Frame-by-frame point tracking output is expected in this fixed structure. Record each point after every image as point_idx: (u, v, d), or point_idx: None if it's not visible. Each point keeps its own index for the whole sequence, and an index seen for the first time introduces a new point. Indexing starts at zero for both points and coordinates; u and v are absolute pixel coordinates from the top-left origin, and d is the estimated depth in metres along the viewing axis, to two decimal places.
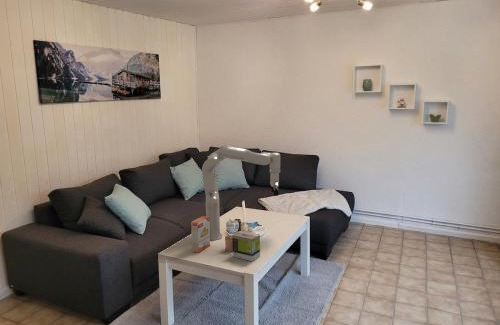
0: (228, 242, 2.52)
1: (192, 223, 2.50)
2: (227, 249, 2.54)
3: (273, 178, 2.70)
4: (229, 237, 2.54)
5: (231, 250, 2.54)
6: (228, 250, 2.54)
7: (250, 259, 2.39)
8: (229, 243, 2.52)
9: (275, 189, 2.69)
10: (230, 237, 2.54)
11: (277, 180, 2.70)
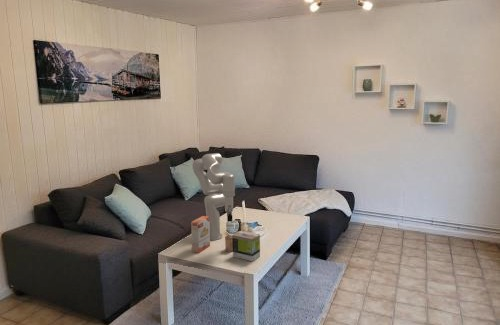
0: (228, 242, 2.52)
1: (192, 223, 2.50)
2: (227, 249, 2.54)
3: (226, 202, 2.45)
4: (229, 237, 2.54)
5: (231, 250, 2.54)
6: (228, 250, 2.54)
7: (250, 259, 2.39)
8: (229, 243, 2.52)
9: (228, 214, 2.45)
10: (230, 237, 2.54)
11: (231, 204, 2.45)
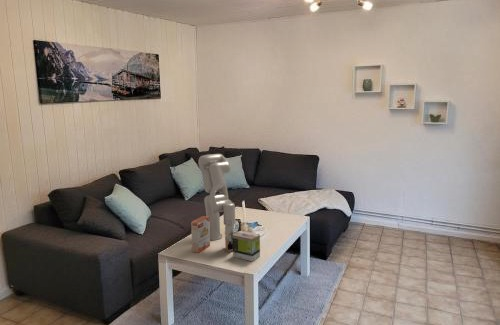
0: None
1: (192, 223, 2.50)
2: (227, 249, 2.54)
3: (227, 231, 2.49)
4: None
5: (231, 250, 2.54)
6: (228, 250, 2.54)
7: (250, 259, 2.39)
8: None
9: (229, 243, 2.50)
10: None
11: (231, 233, 2.49)
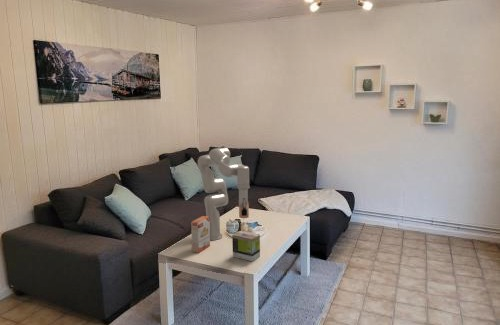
0: None
1: (192, 223, 2.50)
2: (241, 215, 2.40)
3: (241, 195, 2.35)
4: None
5: (245, 216, 2.40)
6: (242, 216, 2.40)
7: (250, 259, 2.39)
8: None
9: (243, 208, 2.36)
10: None
11: (245, 197, 2.36)
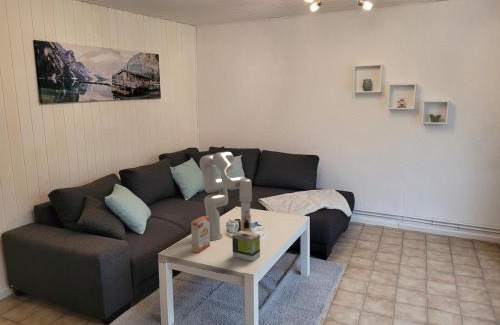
0: None
1: (192, 223, 2.50)
2: (243, 228, 2.40)
3: (243, 208, 2.36)
4: None
5: (247, 229, 2.40)
6: (244, 229, 2.40)
7: (250, 259, 2.39)
8: None
9: (245, 221, 2.37)
10: None
11: (248, 210, 2.36)
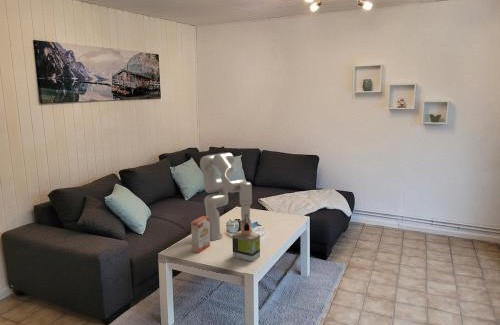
0: None
1: (192, 223, 2.50)
2: (243, 233, 2.41)
3: (243, 211, 2.36)
4: (245, 221, 2.42)
5: (247, 234, 2.41)
6: (244, 234, 2.41)
7: (250, 259, 2.39)
8: None
9: (245, 224, 2.36)
10: None
11: (248, 213, 2.36)
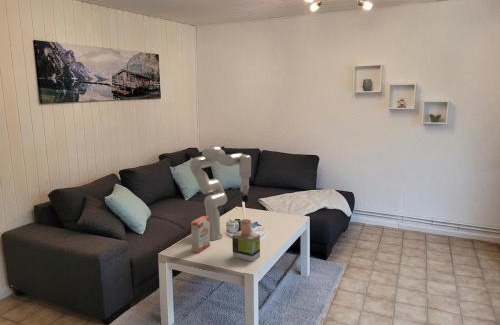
0: (244, 226, 2.40)
1: (192, 223, 2.50)
2: (243, 233, 2.41)
3: (242, 183, 2.46)
4: (245, 221, 2.42)
5: (247, 234, 2.41)
6: (244, 234, 2.41)
7: (250, 259, 2.39)
8: (245, 227, 2.40)
9: (244, 195, 2.46)
10: (246, 221, 2.42)
11: (246, 185, 2.46)
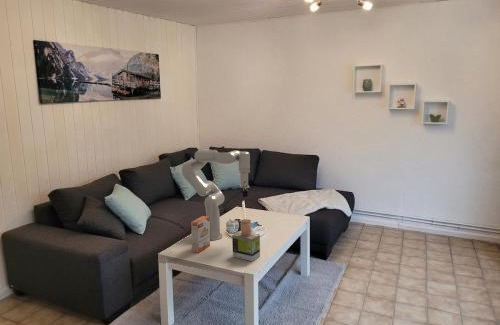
0: (244, 226, 2.40)
1: (192, 223, 2.50)
2: (243, 233, 2.41)
3: (242, 178, 2.56)
4: (245, 221, 2.42)
5: (247, 234, 2.41)
6: (244, 234, 2.41)
7: (250, 259, 2.39)
8: (245, 227, 2.40)
9: (244, 190, 2.55)
10: (246, 221, 2.42)
11: (246, 180, 2.56)
